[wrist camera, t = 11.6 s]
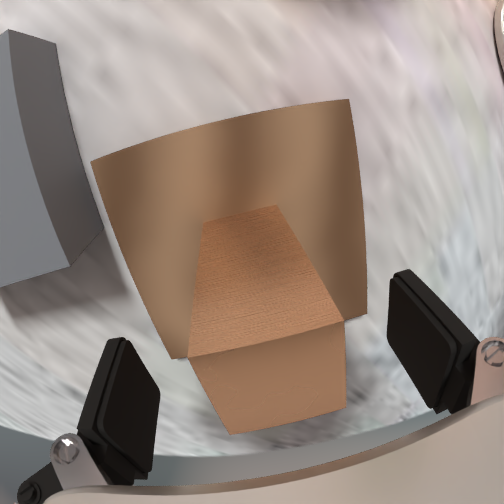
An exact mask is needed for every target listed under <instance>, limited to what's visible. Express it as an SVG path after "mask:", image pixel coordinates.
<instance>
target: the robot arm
mask: <svg viewBox="0 0 504 504" xmlns="http://www.w3.org/2000/svg"><path fill="white" fill-rule="evenodd" d="M494 28H495V38H496V44H497V49H498V54H499V58H500V61H501V65H502V69H503V72H504V0H499V2H498V4H497V6H496V11H495V17H494ZM387 340H388V343H389V345H390V346H391V348H392V349H393V351H394V352H395V354H396V356H397V357H398V359H399V360H400V362H401V364H402V365H403V367H404V368H405V370H406V372H407V373H408V375H409V377H410V378H411V380H412V381H413V383H414V385H415V386H416V388H417V390H418V391H419V393H420V395H421V396H422V398H423V400H424V401H425V403H426V405H427V406H428V408H430V409H431V408H433V409H434V411H435V412H436V414H438V413H440V412H442V411H444V410H446V409H448V410H449V412H450V413H451V415H450V416H448V417H446V418H444V419H442V420H440V421H438V422H436V423H434V424H432V425H429V426H427V427H425V428H422V429H420V430H418V431H415V432H413V433H411V434H409V435H406V436H404V437H401V438H399V439H396V440H394V441H392V442H389V443H386V444H384V445H381V446H378V447H376V448H373V449H370V450H367V451H364V452H361V453H358V454H355V455H352V456H349V457H346V458H342V459H339V460H336V461H332V462H329V463H325V464H321V465H317V466H313V467H309V468H306V469H301V470H297V471H292V472H287V473H282V474H278V475H272V476H267V477H261V478H255V479H248V480H240V481H232V482H224V483H214V484H202V485H185V486H184V485H183V486H134V485H133V484H134V479H145V480H147V478H148V472H150V471H151V470H152V462H153V453H154V443H155V435H156V426H157V418H158V410H159V403H160V390H159V388H158V386H157V385H156V383H155V382H154V380H153V378H152V377H151V375H150V374H149V372H148V370H147V369H146V367H145V365H144V364H143V362H142V360H141V359H140V357H139V355H138V354H137V352H136V350H135V348H134V347H133V345H132V343H131V342H130V341H129V340H126V339H125V338H124V337H119V338H113V339H109V340H108V341H107V343H106V346H105V348H104V351H103V353H102V356H101V359H100V361H99V364H98V367H97V369H96V372H95V375H94V378H93V381H92V383H91V386H90V389H89V392H88V395H87V398H86V401H85V404H84V407H83V410H82V413H81V416H80V420H79V423H78V426H77V429H78V433H77V435H76V434H72V433H68V434H64V435H62V436H60V437H59V438H58V439H56V440H55V442H54V443H53V444H52V447H51V449H50V459H51V462H50V463H49V464H48V465H46V466H45V467H44V468H42V469H41V470H39V471H38V472H37V473H35V474H34V475H32V476H31V477H30V478H28V479H27V480H26V481H24V482H23V483H22V484H21V486H20V487H19V489H18V493H17V499H18V504H504V339H502V338H499V337H489V338H486V339H484V340H483V341H481V342H480V341H479V340H478V339H477V338H476V337H475V336H474V335H473V333H472V332H471V331H470V330H469V329H468V328H467V327H466V326H465V325H464V324H463V322H462V321H461V320H460V319H459V318H458V317H457V316H456V315H455V314H454V313H453V312H452V311H451V310H450V309H449V308H448V307H447V306H446V305H445V303H444V302H443V301H442V300H441V299H440V298H439V297H438V296H437V295H436V294H435V293H434V292H433V291H432V290H431V289H430V288H429V287H428V286H427V285H426V284H425V283H424V282H423V281H422V280H421V279H420V278H419V277H418V276H417V275H415V274H414V273H413V272H412V271H411V270H410V269H407V270H404V271H401V272H397V273H395V274H394V276H393V278H392V279H390V287H389V309H388V325H387ZM14 504H16V503H15V502H14Z"/></svg>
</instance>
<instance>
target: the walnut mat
mask: <svg viewBox="0 0 504 504" xmlns="http://www.w3.org/2000/svg"><path fill="white" fill-rule="evenodd" d="M90 163H91V166H92V169H93V172H94V176H95V179H96V182H97V185H98V188H99V191H100V194H101V197H102V200H103V203H104V206H105V209H106V212H107V214H108V217H109V220H110V223H111V225H112V228H113V231H114V233H115V236H116V239H117V241H118V244H119V246H120V249H121V251H122V254H123V256H124V259H125V261H126V264H127V266H128V268H129V271H130V273H131V275H132V278H133V280H134V282H135V285H136V287H137V289H138V292H139V294H140V296H141V298H142V300H143V303H144V305H145V307H146V309H147V311H148V313H149V315H150V317H151V320H152V322H153V324H154V326H155V328H156V330H157V332H158V334H159V336H160V338H161V340H162V342H163V344H164V346H165V348H166V350H167V352H168V353H169V355H170V357H171V359H177V358H183V357H188V348H189V337H190V327H191V318H192V308H193V299H194V290H195V282H196V274H197V266H198V258H199V250H200V243H201V235H202V228H203V223H204V222H207V221H211V220H215V219H219V218H223V217H227V216H231V215H235V214H239V213H243V212H247V211H251V210H255V209H260V208H264V207H268V206H272V205H277V206H278V208H279V209H280V211H281V213H282V214H283V216H284V218H285V219H286V221H287V222H288V224H289V226H290V227H291V229H292V231H293V232H294V234H295V236H296V237H297V239H298V241H299V243H300V244H301V246H302V248H303V249H304V251H305V253H306V254H307V256H308V258H309V259H310V261H311V263H312V265H313V266H314V268H315V270H316V272H317V273H318V275H319V277H320V278H321V280H322V282H323V284H324V285H325V287H326V289H327V291H328V293H329V294H330V296H331V298H332V300H333V301H334V303H335V305H336V307H337V309H338V310H339V312H340V314H341V316H342V318H343V319H344V320H347V319H351V318H354V317H357V316H361V315H364V314H367V264H366V241H365V224H364V211H363V199H362V188H361V179H360V170H359V162H358V154H357V146H356V139H355V132H354V126H353V120H352V114H351V108H350V102H349V99H343V100H334V101H326V102H318V103H311V104H304V105H297V106H291V107H285V108H279V109H273V110H268V111H263V112H258V113H253V114H248V115H243V116H238V117H234V118H230V119H225V120H221V121H217V122H213V123H209V124H205V125H201V126H197V127H193V128H190V129H186V130H182V131H179V132H175V133H172V134H169V135H165V136H162V137H159V138H155V139H152V140H149V141H146V142H143V143H140V144H137V145H134V146H131V147H128V148H125V149H122V150H120V151H117V152H114V153H111V154H109V155H106V156H103V157H101V158H98V159H96V160H93V161H91V162H90Z"/></svg>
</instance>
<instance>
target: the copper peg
mask: <svg viewBox="0 0 504 504" xmlns="http://www.w3.org/2000/svg"><path fill="white" fill-rule="evenodd" d="M188 359H189V361H190V363H191V365H192V367H193V369H194V371H195V373H196V375H197V377H198V379H199V381H200V383H201V384H202V386H203V388H204V390H205V392H206V394H207V396H208V397H209V399H210V401H211V403H212V405H213V406H214V408H215V410H216V412H217V413H218V415H219V417H220V419H221V420H222V422H223V424H224V426H225V427H226V429H227V431H228V432H229V434H230V435H232V434H238V433H244V432H250V431H255V430H260V429H265V428H270V427H275V426H279V425H284V424H288V423H292V422H296V421H300V420H304V419H308V418H312V417H316V416H319V415H323V414H326V413H330V412H333V411H337V410H340V409H343V408H346V353H345V328H344V319H343V318H342V316H341V314H340V312H339V310H338V309H337V307H336V305H335V303H334V301H333V300H332V298H331V296H330V294H329V293H328V291H327V289H326V287H325V285H324V284H323V282H322V280H321V278H320V277H319V275H318V273H317V272H316V270H315V268H314V266H313V265H312V263H311V261H310V259H309V258H308V256H307V254H306V253H305V251H304V249H303V248H302V246H301V244H300V243H299V241H298V239H297V237H296V236H295V234H294V232H293V231H292V229H291V227H290V226H289V224H288V222H287V221H286V219H285V218H284V216H283V214H282V213H281V211H280V209H279V208H278V206H277V205H272V206H268V207H264V208H260V209H255V210H251V211H247V212H243V213H239V214H235V215H231V216H227V217H223V218H219V219H215V220H211V221H207V222H204V223H203V228H202V235H201V243H200V250H199V258H198V266H197V274H196V282H195V290H194V299H193V308H192V318H191V327H190V337H189V348H188Z"/></svg>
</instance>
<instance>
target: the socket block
mask: <svg viewBox="0 0 504 504" xmlns="http://www.w3.org/2000/svg"><path fill="white" fill-rule="evenodd" d="M103 228H104V226H103V224H102V221H101V218H100V216H99V213H98V210H97V207H96V204H95V202H94V199H93V196H92V193H91V190H90V187H89V184H88V181H87V177H86V174H85V171H84V168H83V164H82V161H81V158H80V154H79V151H78V147H77V144H76V140H75V136H74V132H73V129H72V125H71V121H70V116H69V112H68V108H67V104H66V99H65V94H64V90H63V85H62V80H61V74H60V69H59V63H58V57H57V50H56V44H55V43H52V42H49V41H46V40H43V39H40V38H37V37H34V36H30V35H27V34H24V33H20V32H17V31H13V30H9V29H8V30H6V31H5V32H4V33H2V34H1V35H0V287H3V286H6V285H10V284H13V283H16V282H19V281H23V280H26V279H29V278H32V277H36V276H39V275H42V274H46V273H49V272H52V271H56V270H59V269H63V268H66V267H70V266H71V265H72V264H73V262H74V261H75V260H76V259H77V258H78V256H79V255H80V254H81V253H82V252H83V251H84V249H85V248H86V247H87V246H88V245H89V244H90V242H91V241H92V240H93V239H94V238H95V237H96V236H97V235H98V234H99V232H100V231H101V230H102V229H103Z"/></svg>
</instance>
